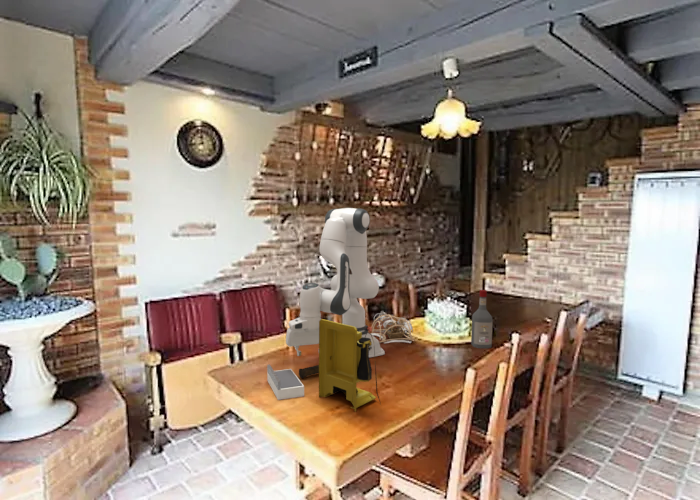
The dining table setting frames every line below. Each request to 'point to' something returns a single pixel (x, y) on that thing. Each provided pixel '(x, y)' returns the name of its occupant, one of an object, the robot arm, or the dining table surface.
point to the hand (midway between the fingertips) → (310, 354)
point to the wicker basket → (392, 328)
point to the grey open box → (284, 383)
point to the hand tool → (308, 371)
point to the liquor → (482, 324)
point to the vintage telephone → (344, 362)
